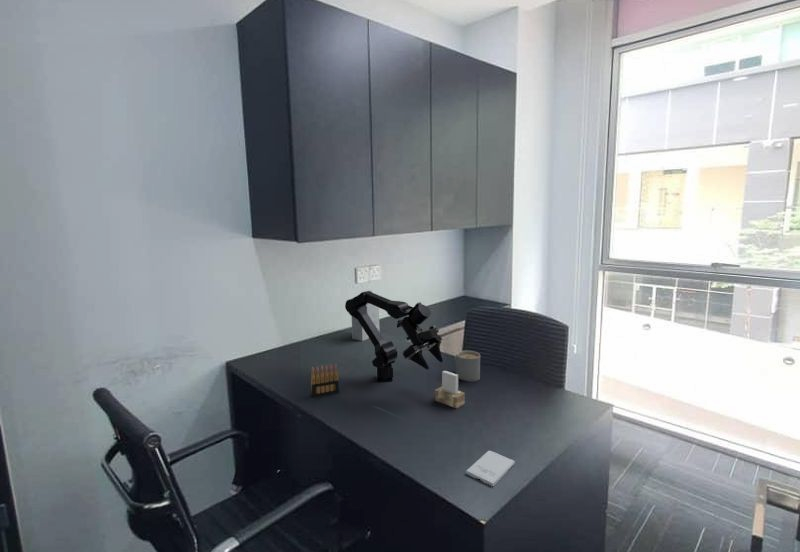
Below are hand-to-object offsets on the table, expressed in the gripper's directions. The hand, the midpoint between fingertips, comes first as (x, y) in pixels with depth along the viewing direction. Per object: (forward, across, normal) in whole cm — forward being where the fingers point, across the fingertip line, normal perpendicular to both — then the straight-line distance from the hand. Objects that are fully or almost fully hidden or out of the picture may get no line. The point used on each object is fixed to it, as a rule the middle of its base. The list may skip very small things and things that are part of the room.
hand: (435, 365), depth 153 cm
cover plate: (+14, -2, +2) cm, 14 cm away
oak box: (+14, -2, +3) cm, 14 cm away
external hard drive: (+34, -27, -19) cm, 48 cm away
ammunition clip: (-14, -25, +34) cm, 44 cm away
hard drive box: (-39, +37, +62) cm, 82 cm away
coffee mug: (+9, +24, +9) cm, 27 cm away
